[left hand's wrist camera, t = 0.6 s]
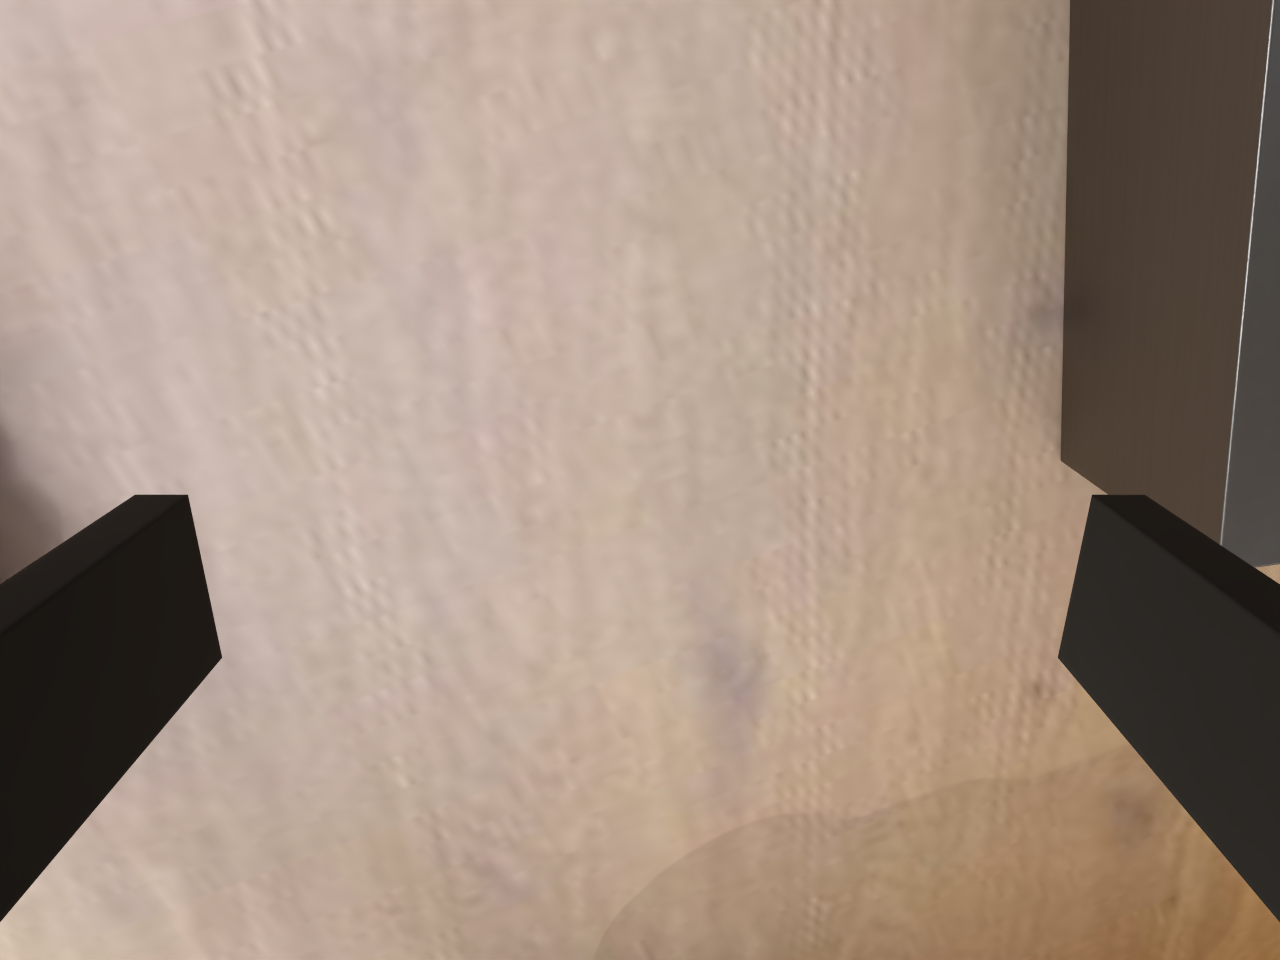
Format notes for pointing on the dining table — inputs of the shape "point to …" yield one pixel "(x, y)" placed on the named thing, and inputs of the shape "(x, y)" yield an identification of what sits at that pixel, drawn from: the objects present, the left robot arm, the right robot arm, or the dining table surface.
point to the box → (1176, 261)
